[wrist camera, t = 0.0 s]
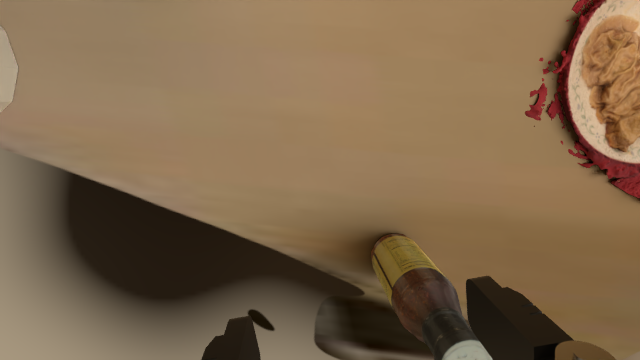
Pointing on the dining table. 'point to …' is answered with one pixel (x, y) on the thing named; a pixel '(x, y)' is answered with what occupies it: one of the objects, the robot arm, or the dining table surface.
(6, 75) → the bowl
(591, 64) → the plate with food
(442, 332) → the sauce bottle
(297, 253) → the dining table surface
